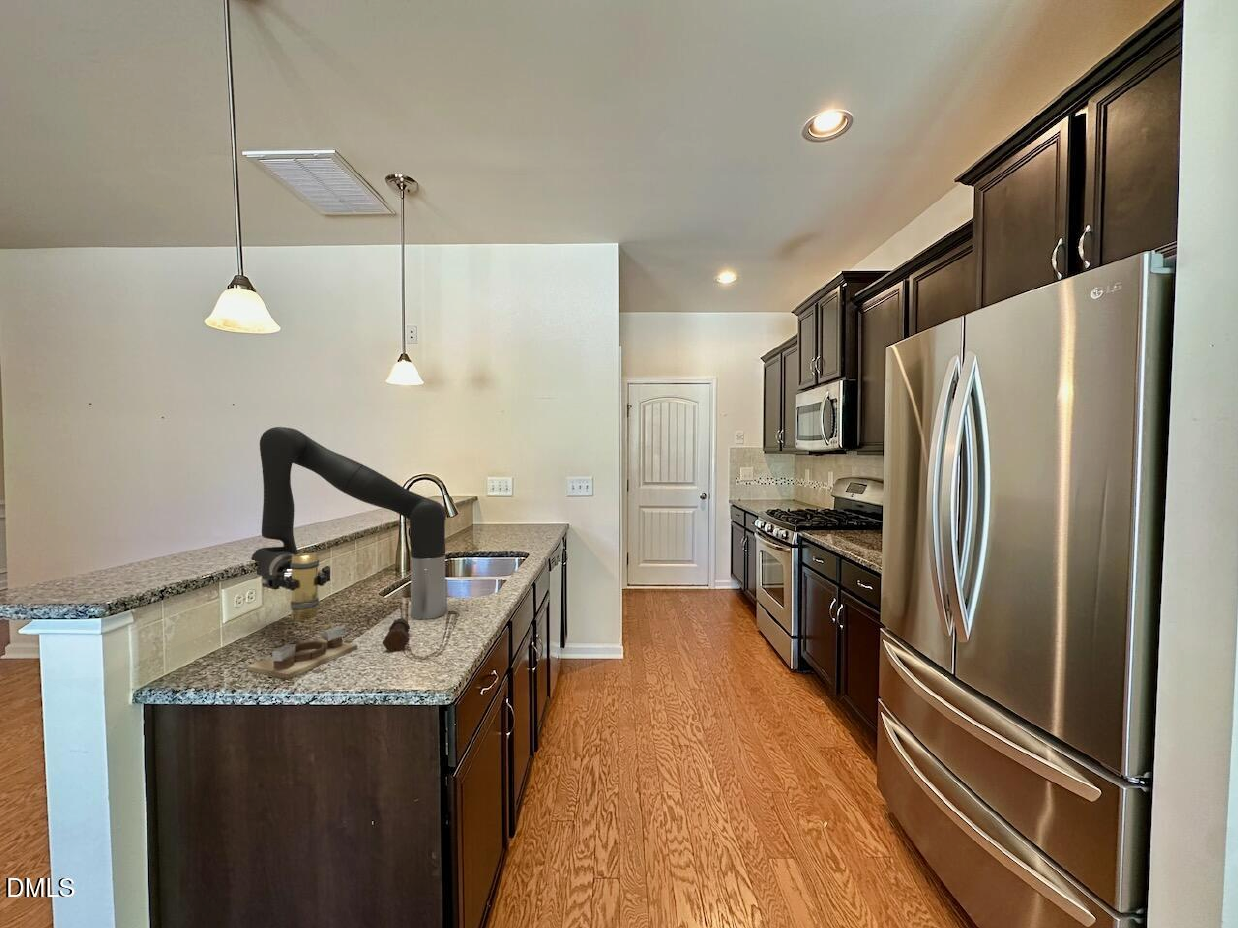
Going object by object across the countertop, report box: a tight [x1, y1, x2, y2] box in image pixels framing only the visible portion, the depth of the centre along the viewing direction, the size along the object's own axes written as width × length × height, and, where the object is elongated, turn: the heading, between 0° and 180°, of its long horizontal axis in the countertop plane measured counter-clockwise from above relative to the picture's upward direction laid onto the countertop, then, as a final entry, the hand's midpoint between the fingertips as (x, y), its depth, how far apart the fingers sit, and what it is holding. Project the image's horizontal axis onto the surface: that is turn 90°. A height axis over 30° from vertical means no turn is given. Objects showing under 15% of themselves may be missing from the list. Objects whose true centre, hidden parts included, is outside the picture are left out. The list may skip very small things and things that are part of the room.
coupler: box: [290, 552, 320, 621], centre depth 109 cm, size 5×5×14 cm
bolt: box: [382, 618, 411, 653], centre depth 121 cm, size 6×5×15 cm
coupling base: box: [246, 637, 358, 680], centre depth 109 cm, size 17×12×3 cm
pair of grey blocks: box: [271, 625, 346, 661], centre depth 108 cm, size 17×3×2 cm, turn 161°
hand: (308, 583), depth 107 cm, fingers closed on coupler, 5 cm apart
